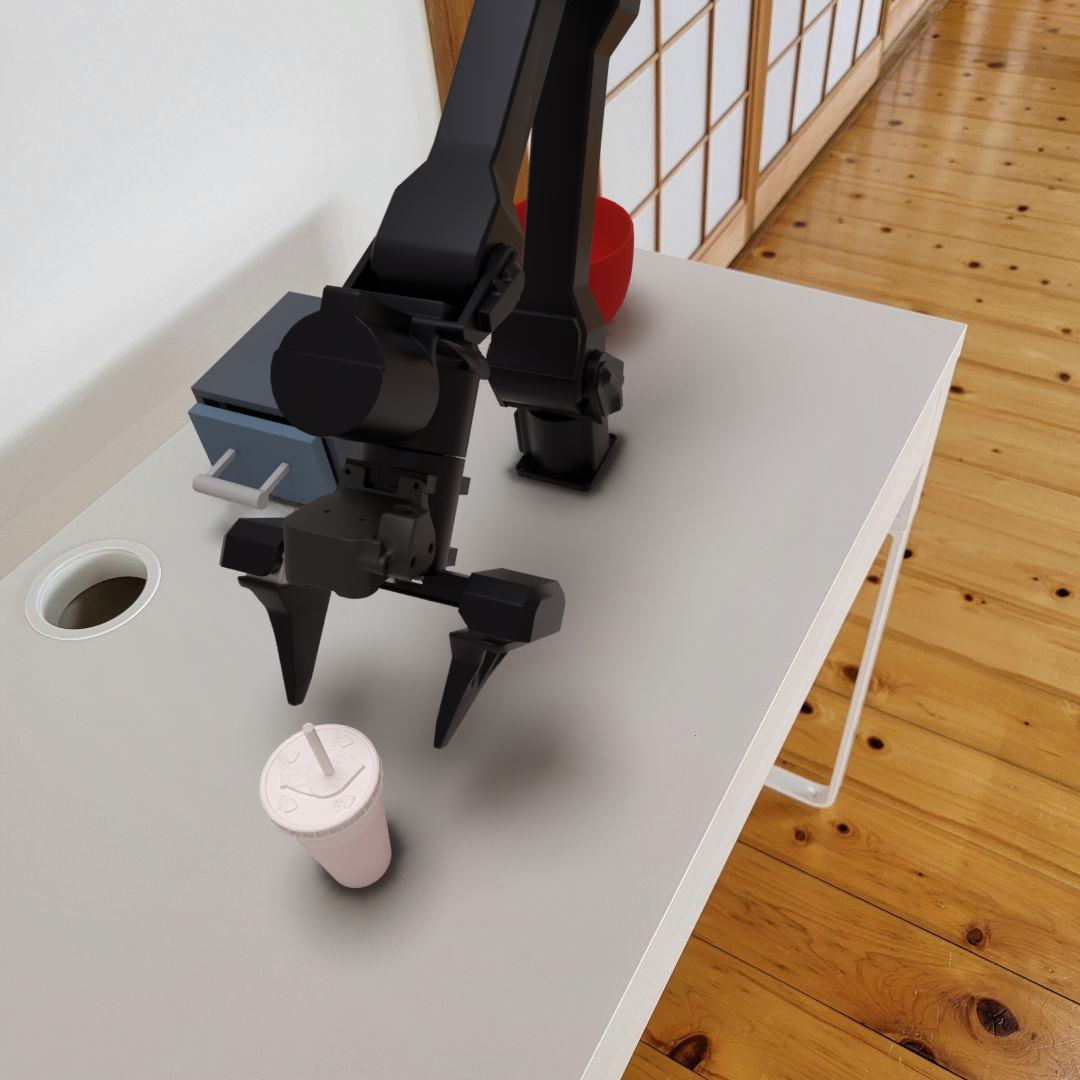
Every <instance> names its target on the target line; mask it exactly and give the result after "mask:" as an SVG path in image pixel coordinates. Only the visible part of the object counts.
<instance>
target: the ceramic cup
mask: <svg viewBox="0 0 1080 1080" xmlns="http://www.w3.org/2000/svg"><path fill="white" fill-rule="evenodd" d="M526 200H527V198H526V199H523V200H520V201H517V202H516V203H514V206H515V209H516V213H517V216H518V219H519V222H520V225H521V229H522V232H523V235H524V228H525V214H526ZM634 227H635V226H634V222H633V219H632V217H631V214H630V213H629V212H628V211H627V210H626V209H625V208H624V207H623V206H622V205H620V204H619V203H617V202H616V201H614V200H612V199H609V198H606V197H604V196H601V195H597V194H596V204H595V214H594V225H593V235H592V246H591V256H590V266H589V277H588V286H589V288H590V290H591V292H592V295H593V297H594V299H595V301H596V303H597V305H598V307H599V310H600V312H601V314H602V316H603V318H604V320H605V323H606V327H607V326H608V325H609V324H610V323H611V321H612V320H613V319H614V318H615V316H616V315H617V313H618V312H619V310H620V309H621V307H622V305H623V304H624V301H625V298H626V295H627V292H628V290H629V287H630V283H631V278H632V274H633V266H634V254H635V230H634V229H635V228H634ZM522 256H523V251H522ZM522 256H521V259H522Z"/></svg>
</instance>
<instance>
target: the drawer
mask: <svg viewBox="0 0 1080 1080" xmlns="http://www.w3.org/2000/svg"><path fill="white" fill-rule="evenodd" d="M217 402H218V404H219V407H220V408H216V407H212V406H208V405H204V404H200V403H197V402H196V403H195V404H193V406H191V407H190V409H188V410H187V414H188V417H189V419H190V421H191V423H192V426H193V427H194V428H193V429H194V430H195V432H196V434H197V437H198V439H199V441H200V443H201V446H202V448H203V450H204V452H205V453H206V456H207V458H208V461H209V462H210V465H211V468H210V469H209V470H208V471H207V472H206V473H205V474H203V473H198V474H196V475H195V476H194V477H193V479H192V483H191V484H192V489H193V491H194V492H196V493H200V494H202V495H203V494H204V495H206V496H209V497H214V498H217V499H221V500H223V501H224V500H225V501H228V502H231V503H235V504H239V505H241V506H245V507H249V508H252V509H255V510H259V511H262V510H263V511H264V510H265V509H266V508H267V507H268V505H269V501H270V496H272V497H273V496H274V497H277V498H281V499H284V500H288V501H291V502H295V503H297V504H298V503H299V504H303V505H306V504H308V503H310V502H311V501H313V500H315V499H316V498H318V497H320V496H323V495H326V494H332V493H334V492H335V490H336V488H337V485H338V484H339V479H338V476H337V473H336V470H335V467H334V464H333V461H332V458H331V455H330V452H329V449H328V446H327V443H326V440H325V438H324V437H317V436H312V435H309V434H307V433H305V432H302V431H300V430H298V429H297V428H295V427H294V426H293V425H292V424H291V423H290V422H288V421H287V420H286V418H284V417H280V416H276V415H272V414H268V413H264V412H260V411H256V410H252V409H248V408H244V407H240V406H235V405H231V404H227V403H223V402H219V401H217Z"/></svg>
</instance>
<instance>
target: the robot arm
mask: <svg viewBox="0 0 1080 1080" xmlns="http://www.w3.org/2000/svg"><path fill="white" fill-rule="evenodd" d="M641 1H642V0H473V3H472V7H471V10H470V13H469V18H468V20H467V25H466V27H465V31H464V34H463V38H462V42H461V45H460V47H459V48H460V49H459V52H458V56H457V59H456V63H455V66H454V70H453V73H452V77H451V80H450V83H449V87H448V91H447V94H446V97H445V101H444V104H443V108H442V112H441V115H440V118H439V122H438V125H437V130H436V133H435V136H434V140H433V143H432V145H431V147H430V150H429V153H428V155H427V158H426V159H425V161H424V162H423V163H421V164H420V165H419V166H418V167H417V168H416V169H414V171H413V172H411V173H410V174H409V175H407V177H406V178H405V179H403V181H402V182H401V183H399V184H398V185H396V188H395V189H394V190H393V192H392V195H391V198H390V200H389V202H388V205H387V207H386V210H385V212H384V214H383V217H382V220H381V222H380V224H379V227H378V229H377V232H376V234H375V236H373V238H372V240H371V242H370V243H369V244H368V246H367V247H366V249H365V251H364V252H363V254H362V256H361V257H360V258H359V260H358V261H357V263H356V264H355V266H354V268H353V269H352V271H351V272H350V274H349V275H348V276H347V278H346V280H345V281H344V282H343V284H342V286H335V285H331V284H326V285H325V286H324V287H323V288H322V295H321V297H322V300H321V306H320V311H316V312H314V313H312V314H309V315H307V316H305V317H303V318H302V319H301V320H299V321H298V322H297V323H296V324H294V325H293V326H292V327H291V328H290V330H289V331H288V332H287V334H286V335H285V336H284V337H283V339H282V341H281V343H280V346H279V348H278V349H277V350H275V351H274V353H273V357H272V362H271V374H270V382H271V387H272V393H273V396H274V399H275V401H276V404H277V406H278V409H279V410H280V411H281V413H282V414H283V416H284V417H285V418H286V420H287V421H288V422H290V423H291V424H292V425H293V426H294V427H295V428H297V429H298V430H300V431H302V432H305V433H307V434H309V435H312V436H317V437H324V438H332V439H339V440H347V441H355V442H361V447H360V453H359V459H355V458H346V462H345V466H343V468H342V470H341V476H340V481H339V484H338V486H337V488H336V490H335V492H334V493H332V494H326V495H323V496H320V497H318V498H316V499H315V500H313V501H311V502H310V503H308V504H304V505H303V506H301V507H299V508H298V509H296V510H294V511H292V512H291V513H289V514H288V515H286V516H282V517H276V516H275V517H238V518H237V520H236V521H234V522H233V524H232V525H231V526H230V527H229V529H228V530H227V531H226V533H225V534H224V535H223V537H222V538H223V539H222V543H221V544H222V545H221V551H220V557H219V566H220V567H222V568H224V569H228V570H232V571H236V572H241V573H244V574H245V575H238V576H237V577H236V580H237V582H238V584H239V586H240V587H241V588H245V589H248V590H250V592H252V593H253V595H254V596H255V597H256V598H257V599H258V601H259V602H260V603H261V604H262V606H263V607H264V608H265V610H266V613H267V615H268V619H269V621H270V625H271V629H272V631H273V635H274V640H275V645H276V650H277V655H278V659H279V665H280V670H281V676H282V680H283V686H284V691H285V695H286V701H287V704H288V705H289V706H292V707H296V706H299V705H302V704H303V703H304V701H305V699H306V696H307V693H308V691H309V688H310V686H311V682H312V679H313V676H314V671H315V666H316V661H317V658H318V654H319V649H320V644H321V640H322V635H323V631H324V627H325V623H326V617H327V613H328V609H329V605H330V601H331V597H332V592H334V593H335V594H336V596H338V597H340V598H344V599H349V600H361V599H365V598H366V599H367V598H369V597H371V596H372V595H374V594H376V593H377V592H378V591H379V590H384V591H387V592H392V593H396V594H400V595H404V596H409V597H412V598H416V599H421V600H424V601H427V602H431V603H436V604H440V605H445V606H449V607H451V608H452V607H453V608H457V609H458V610H457V612H458V614H459V616H460V617H461V618H462V619H461V620H462V621H463V622H464V624H465V626H466V627H464V628H460V629H456V630H453V631H450V632H449V633H448V639H449V645H450V654H451V659H450V663H449V669H448V672H447V677H446V679H445V684H444V688H443V691H442V692H443V693H442V695H441V700H440V704H439V708H438V711H437V712H438V713H437V716H436V719H435V725H434V737H433V748H434V749H436V750H442V749H444V748H446V747H447V746H448V744H449V743H450V741H451V739H452V738H453V736H454V735H455V734H456V731H457V730H458V728H459V726H460V725H461V723H462V722H463V720H464V719H465V717H466V715H467V714H468V712H469V710H470V709H471V707H472V705H473V704H474V702H475V700H476V699H477V697H478V695H479V694H480V692H481V690H482V689H483V687H485V685H486V684H487V681H488V680H489V678H490V677H491V675H492V674H493V673H494V671H495V670H496V669H497V667H498V666H499V665H500V664H501V663H502V661H503V660H504V659H505V658H506V656H507V655H508V654H509V653H510V652H512V651H513V650H516V649H519V648H521V647H523V646H526V645H529V644H531V643H535V642H536V641H538V640H541V639H544V638H547V637H550V636H552V635H554V634H556V633H559V632H561V629H562V628H561V627H562V623H563V619H564V618H563V617H564V614H565V607H566V596H565V592H564V590H563V588H562V585H561V584H560V582H559V580H556V579H551V578H547V577H543V576H539V575H535V574H530V573H527V572H523V571H517V570H513V569H508V568H505V567H499V568H492V569H486V570H479V571H473V572H471V573H470V574H464V573H460V572H456V571H452V570H448V569H447V568H450V567H455V566H456V562H457V557H458V553H459V548H457V547H453V546H451V543H452V538H453V532H454V526H455V522H456V521H455V520H456V515H457V510H458V504H459V498H460V496H468V495H469V491H470V485H471V480H472V478H471V477H469V476H465V475H464V471H465V466H466V458H467V455H468V448H469V442H470V437H471V432H472V426H473V421H474V416H475V415H474V414H475V409H476V403H477V400H478V399H477V398H478V393H479V388H480V381H481V380H482V381H487V382H488V384H489V386H490V388H491V391H492V392H493V394H494V397H495V398H496V401H497V403H498V405H499V407H501V408H514V409H516V410H514V412H513V419H514V428H515V435H516V440H517V447H518V451H519V453H521V454H522V455H521V458H520V459H519V461H518V462H517V464H516V465H515V472H516V474H517V475H520V476H523V477H528V478H532V479H536V480H541V481H544V482H548V483H551V484H557V485H560V486H564V487H569V488H573V489H577V490H581V491H590V490H591V489H592V488H593V485H594V484H595V482H596V480H597V479H598V477H599V476H600V474H601V472H602V470H603V469H604V467H605V465H606V463H607V461H608V460H609V457H610V456H611V454H612V452H613V451H614V449H615V447H616V445H617V444H618V436H617V434H615V433H612V432H609V431H610V430H609V429H610V428H609V415H613V414H615V413H617V412H618V413H619V412H620V411H622V409H623V407H624V397H623V396H624V394H623V393H624V391H623V387H624V382H625V375H624V371H625V370H624V369H625V362H624V361H623V360H622V359H620V358H618V357H616V356H614V355H612V354H611V353H609V352H607V351H606V341H607V340H606V339H607V326H606V323H605V320H604V318H603V316H602V314H601V312H600V310H599V307H598V305H597V303H596V301H595V299H594V297H593V295H592V292H591V290H590V288H589V286H588V277H589V266H590V256H591V246H592V235H593V225H594V214H595V204H596V195H597V193H598V183H599V182H598V181H599V172H600V163H601V152H602V151H601V149H602V142H603V130H604V120H605V119H604V118H605V110H606V109H605V108H606V101H607V100H606V99H607V90H608V89H607V88H608V78H609V69H610V62H611V61H610V59H611V57H612V55H613V54H614V52H616V50H617V48H618V47H619V45H620V44H621V42H622V40H623V39H624V38H625V36H626V34H627V33H628V32H629V30H630V29H631V27H632V25H633V24H634V23H635V21H636V20H637V18H638V17H639V13H640V8H641ZM529 139H530V146H529V161H528V174H527V187H526V199H527V200H526V214H525V228H524V235H523V232H522V229H521V225H520V222H519V219H518V216H517V213H516V209H515V206H514V204H515V203H514V197H515V193H516V188H517V183H518V178H519V175H520V171H521V167H522V165H523V160H524V157H525V153H526V149H527V146H528V142H529ZM522 251H523V256H522ZM521 256H522V259H521ZM489 335H490V343H489V344H488V347H487V351H486V355H484V354H483V353H482V352H481V350H480V348H479V346H480V345H481V344H482V343H483V341H485V339H487V338H488V337H489ZM416 581H417V582H416ZM418 581H419V582H418ZM420 582H421V583H420Z"/></svg>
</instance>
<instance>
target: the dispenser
mask: <svg viewBox="0 0 1080 1080" xmlns="http://www.w3.org/2000/svg"><path fill="white" fill-rule="evenodd" d="M321 300H322V296H316V295H310V294H305V293H300V292H295V291H289V290H288V291H287V292H286V293H285V294H284V295H283V296H282V297H281V298H280V299H279V300H278V301H277V302H276V303H275V304H274V305H272V307H271V308H270V309H268V311H267V312H266V313H265V314H264V315H263V316H262V317H261V318H260V319H259V320H258V321H257V322H255V323H254V324H253V326H251V327H250V329H249V330H247V331H246V332H245V333H244V334H243V335H242V336H241V337H240V338H239V339H238V340H237V341H236V342H235V343H234V344H233V345H232V346H231V347H230V348H229V349H228V350H227V351H226V352H225V353H224V354H223V355H221V356H220V358H219V359H218V360H217V361H216V362H215V363H214V364H213V365H212V366H211V367H210V368H209V369H208V370H207V371H206V372H204V373H203V375H202V376H201V377H200V378H198V380H197V381H195V382H194V383H193V384H192V385H191V386H190V390H191V392H192V394H193V396H194V399H195V401H196V403H200V404H204V405H208V406H212V407H216V408H220V407H219V404H218V402H217V401H219V402H223V403H227V404H231V405H235V406H240V407H244V408H248V409H252V410H256V411H260V412H264V413H268V414H272V415H276V416H280V417H284V416H283V414H282V413H281V411H280V410H279V409H278V406H277V404H276V401H275V399H274V396H273V393H272V387H271V382H270V374H271V362H272V357H273V353H274V351H275V350H277V349H278V348H279V346H280V343H281V341H282V339H283V337H284V336H285V335H286V334H287V332H288V331H289V330H290V328H291V327H292V326H293V325H294V324H296V323H297V322H298V321H299V320H301V319H302V318H303V317H305V316H307V315H309V314H312V313H314V312H316V311H320V306H321ZM284 418H285V417H284ZM325 440H326V443H327V446H328V449H329V452H330V455H331V458H332V461H333V464H334V467H335V470H336V473H337V476H338V479H339V481H340V476H341V470H342V468H343V466H345V462H346V458H355V459H359V453H360V447H361V442H355V441H347V440H339V439H332V438H325ZM337 486H338V485H337Z"/></svg>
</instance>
